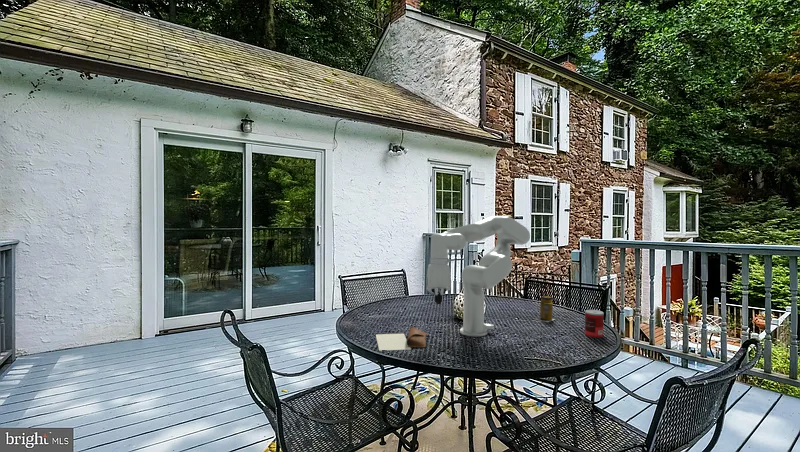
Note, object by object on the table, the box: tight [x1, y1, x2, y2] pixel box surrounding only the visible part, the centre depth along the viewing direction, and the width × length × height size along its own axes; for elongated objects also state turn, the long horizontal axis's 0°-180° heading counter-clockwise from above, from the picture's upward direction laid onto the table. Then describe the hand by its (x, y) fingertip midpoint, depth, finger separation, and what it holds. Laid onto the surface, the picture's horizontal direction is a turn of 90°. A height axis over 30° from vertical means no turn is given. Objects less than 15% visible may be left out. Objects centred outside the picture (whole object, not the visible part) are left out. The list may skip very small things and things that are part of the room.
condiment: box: [535, 295, 556, 323], centre depth 208 cm, size 7×8×12 cm
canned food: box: [584, 309, 605, 339], centre depth 181 cm, size 8×8×11 cm
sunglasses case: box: [406, 326, 428, 348], centre depth 173 cm, size 18×7×7 cm, turn 176°
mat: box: [375, 333, 412, 352], centre depth 171 cm, size 13×21×1 cm, turn 8°
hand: (438, 303), depth 173 cm, fingers closed
